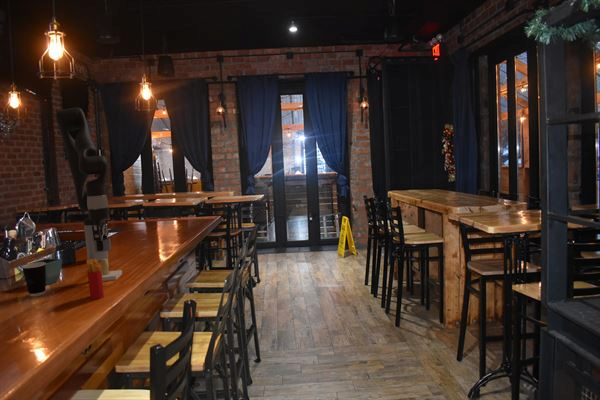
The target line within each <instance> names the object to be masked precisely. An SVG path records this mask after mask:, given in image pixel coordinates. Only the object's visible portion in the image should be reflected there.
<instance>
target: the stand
mask: <svg viewBox="0 0 600 400" xmlns="http://www.w3.org/2000/svg"><path fill="white" fill-rule="evenodd" d="M100 264H101V270H102V280H103V282H105V281H107V282H108V281H115V280H118V278H120V276H122V275H123V271H122V269H118V270H110V269H109V266H110V265H109V258H108V259H101V261H100Z"/></svg>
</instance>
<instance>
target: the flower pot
mask: <svg viewBox="0 0 600 400" xmlns="http://www.w3.org/2000/svg"><path fill="white" fill-rule="evenodd" d="M37 262H45V263H46V264H45V274H46V286H48V285H51V284H54V283H57V282H58V280H59V279H60V277H61V273H62V258H43V259H40V260H36V261H33V262H29V263H27V264H31V263H37Z"/></svg>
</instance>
